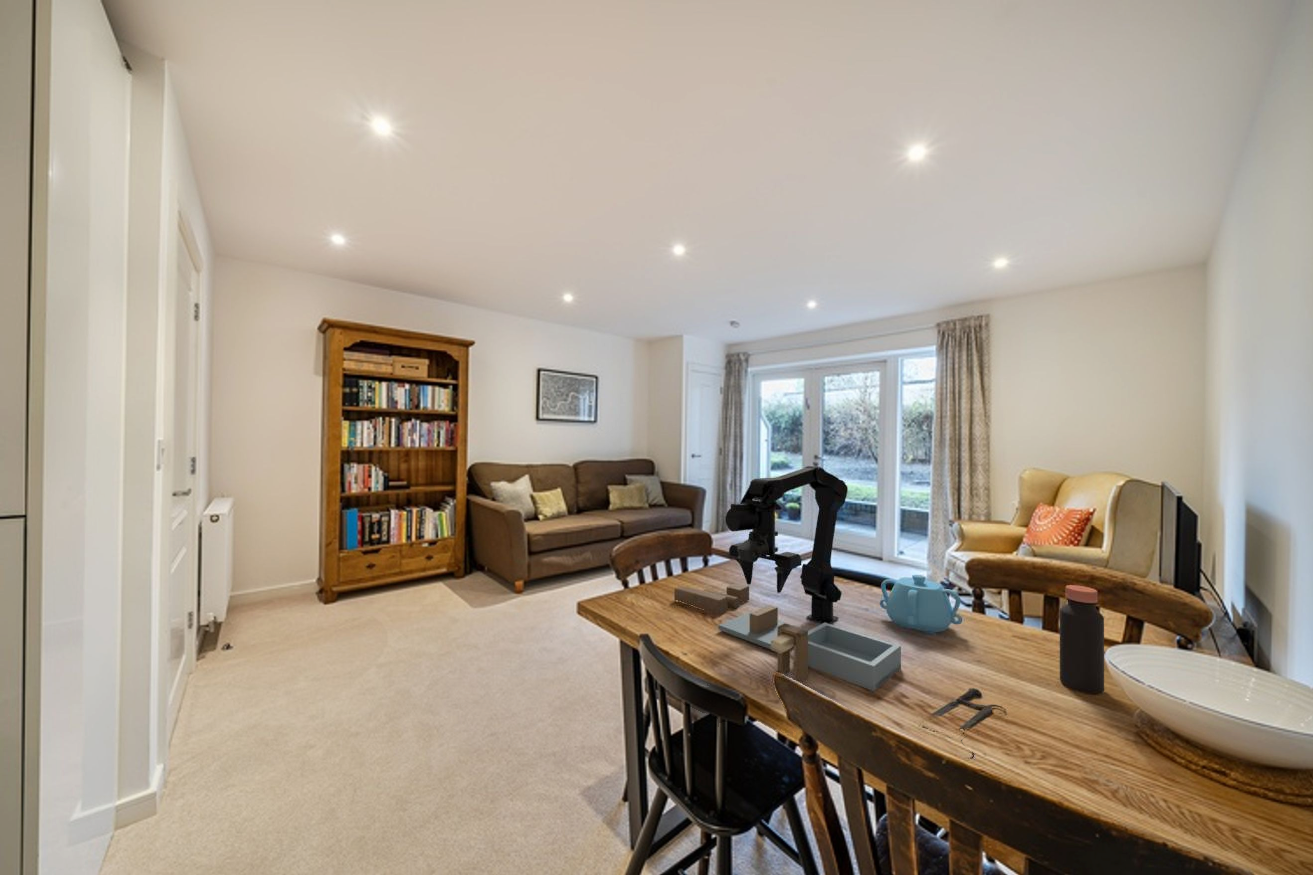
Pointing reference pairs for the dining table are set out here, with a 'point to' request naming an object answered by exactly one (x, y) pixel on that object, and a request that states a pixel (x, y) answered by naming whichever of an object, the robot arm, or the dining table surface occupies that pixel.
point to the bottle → (1082, 641)
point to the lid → (755, 626)
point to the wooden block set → (713, 597)
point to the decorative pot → (920, 604)
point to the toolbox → (841, 654)
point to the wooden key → (782, 643)
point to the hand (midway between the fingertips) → (763, 588)
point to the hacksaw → (964, 699)
